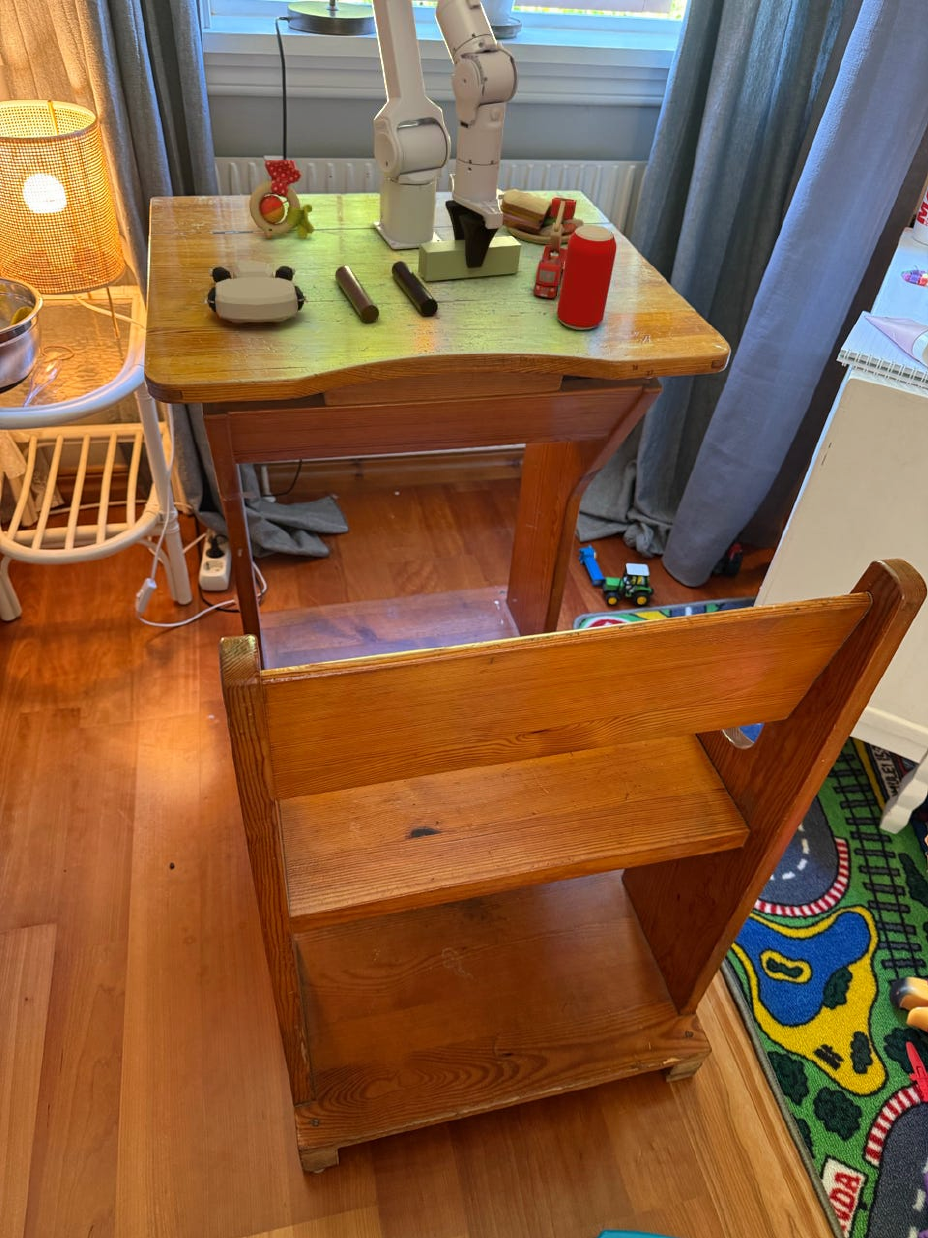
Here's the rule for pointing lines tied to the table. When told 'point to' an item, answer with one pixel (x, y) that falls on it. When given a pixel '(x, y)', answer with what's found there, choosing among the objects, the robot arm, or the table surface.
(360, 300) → the walnut rod
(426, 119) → the robot arm
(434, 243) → the bar
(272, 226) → the bird rattle
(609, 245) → the beverage can
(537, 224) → the toy sandwich meal
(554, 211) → the toy fire truck
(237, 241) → the table surface
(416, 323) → the table surface
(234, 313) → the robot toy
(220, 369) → the table surface
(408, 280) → the black rod
